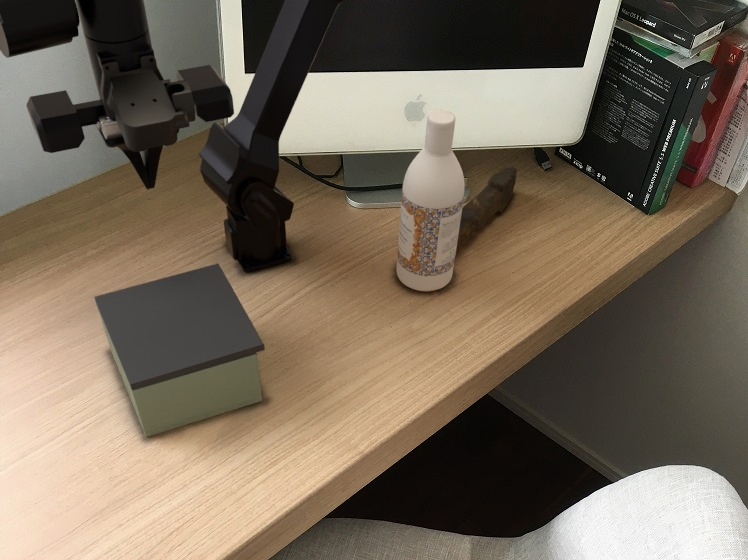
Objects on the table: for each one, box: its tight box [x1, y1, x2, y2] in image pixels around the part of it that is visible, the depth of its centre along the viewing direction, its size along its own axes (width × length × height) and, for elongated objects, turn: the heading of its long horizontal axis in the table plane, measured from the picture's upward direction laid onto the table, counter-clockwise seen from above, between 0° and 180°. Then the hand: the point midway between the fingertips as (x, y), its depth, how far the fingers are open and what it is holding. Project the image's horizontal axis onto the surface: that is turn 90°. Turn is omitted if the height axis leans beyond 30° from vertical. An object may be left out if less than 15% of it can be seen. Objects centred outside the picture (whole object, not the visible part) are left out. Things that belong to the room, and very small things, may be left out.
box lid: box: [93, 263, 265, 390], centre depth 79 cm, size 13×14×1 cm
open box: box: [95, 303, 263, 438], centre depth 82 cm, size 13×14×7 cm
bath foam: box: [395, 108, 465, 292], centre depth 89 cm, size 7×7×20 cm
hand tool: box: [456, 165, 518, 255], centre depth 101 cm, size 19×4×5 cm, turn 143°
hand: (149, 186), depth 83 cm, fingers closed
